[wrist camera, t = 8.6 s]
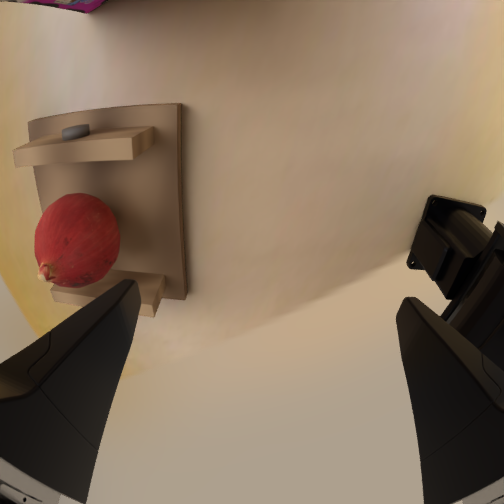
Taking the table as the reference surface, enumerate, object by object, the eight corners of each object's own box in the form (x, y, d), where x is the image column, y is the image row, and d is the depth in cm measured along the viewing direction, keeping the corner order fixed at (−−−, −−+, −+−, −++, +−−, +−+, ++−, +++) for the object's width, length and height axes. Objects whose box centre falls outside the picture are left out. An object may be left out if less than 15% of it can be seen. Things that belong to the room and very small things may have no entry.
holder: (181, 103, 17) (158, 111, 13) (187, 292, 25) (176, 332, 21) (35, 119, 16) (-4, 134, 13) (68, 278, 25) (46, 310, 21)
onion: (150, 232, 21) (107, 309, 14) (95, 257, 22) (49, 328, 15) (110, 162, 18) (40, 216, 11) (57, 197, 19) (-8, 255, 12)
